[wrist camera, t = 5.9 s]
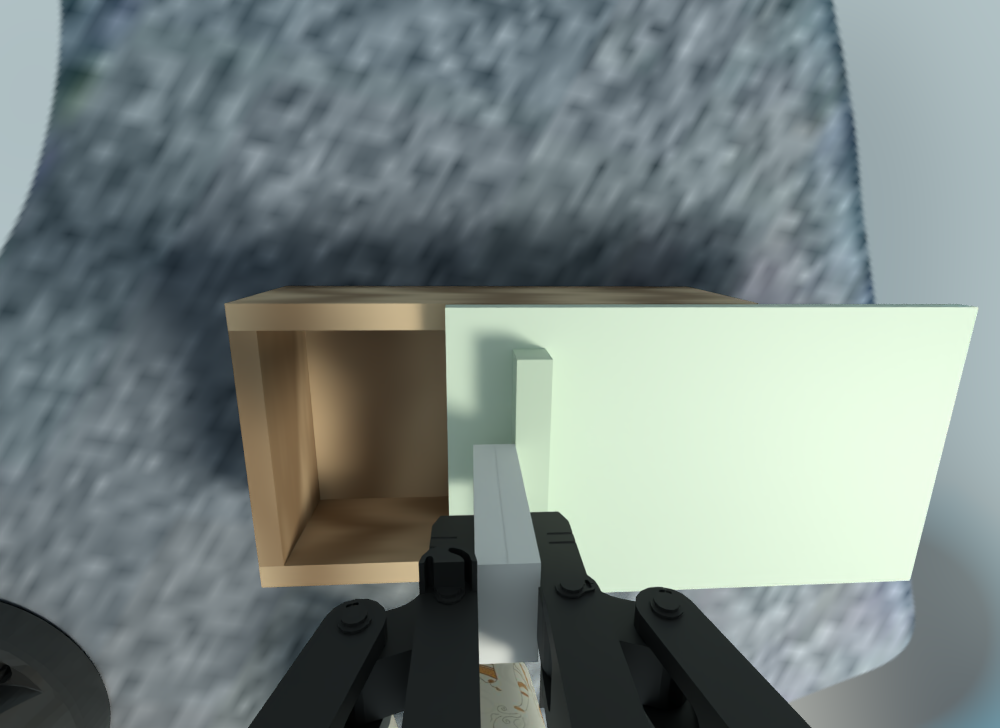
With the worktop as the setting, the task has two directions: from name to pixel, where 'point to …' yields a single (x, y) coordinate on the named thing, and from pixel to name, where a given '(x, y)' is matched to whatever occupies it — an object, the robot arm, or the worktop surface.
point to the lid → (714, 432)
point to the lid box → (361, 418)
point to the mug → (506, 697)
